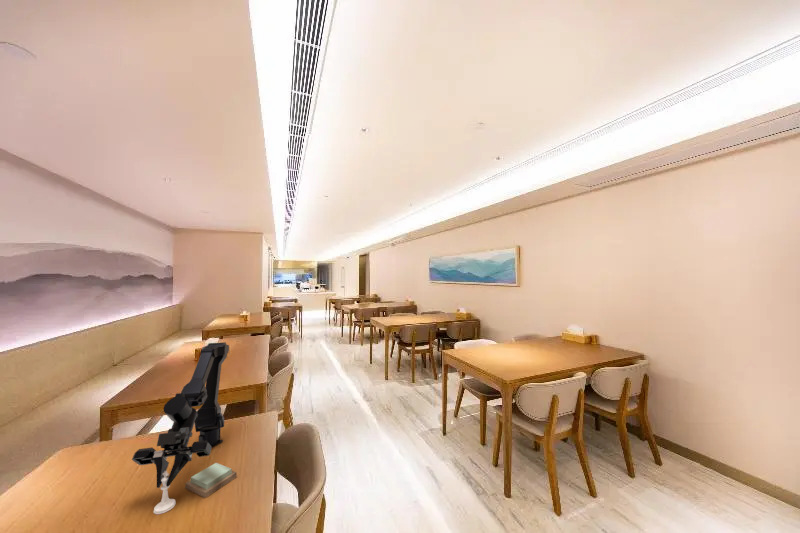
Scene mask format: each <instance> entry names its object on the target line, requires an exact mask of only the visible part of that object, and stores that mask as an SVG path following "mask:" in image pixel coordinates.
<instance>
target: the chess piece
mask: <svg viewBox="0 0 800 533" xmlns="http://www.w3.org/2000/svg"><path fill="white" fill-rule="evenodd" d="M163 475H164V477H163V478H162V479H161V482H162V484H161V486H160V490H161V491H162V495H161V501H160V502H158V503H157V504H156V505H155V506H154V507H153V514H155V515H162V514H165V513H167V512H168V511H170V510H171V509H173V508H174V507H175V506H176V499H175V498H169V492H168V489H169V488H170V487H171V484H170V485H169V486H168V487H167V486H166V484H167V480H168V477H169V475H170V472H168V470H166V471H165V472H164V473H163Z"/></svg>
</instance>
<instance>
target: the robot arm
mask: <svg viewBox="0 0 800 533" xmlns="http://www.w3.org/2000/svg"><path fill="white" fill-rule="evenodd" d="M229 352H230V346H229V344H227V343H226V342H225V341H224V342H211V343H210V342H209V343H208V344H207V345H205V346H203V347H202V348H201V349H200V353H199V358H198V362H197V363H196V365H195V369H194V371H193V374H192V377H191V379H190V381H188V382H187V383H186V384H185V385H184V386H183V387H182V390H181V391H180V392H178V393H176V394H175V396H174V397H172V398H170V399H169V400H168V401H167V402H166V403H165V404H164V405H163V412H164V414H165V415H166V416H167V418H169V419H170V421H171V422H172V426H171V428H169V429H168V430H167V432H164V433H159V434H158V438H157V442H156V447H160V448H161V449H163V450H156V449H155V448H154V447H153V446H152V447H146V448H139V449H137V450H136V451H135V453H134V454H133V456H132V459H131V460H132V461H133V462H135V464H137V465H139V466H145V465H152V464H154V465H155V468H156V469H155V470H156V489H157V488H158V489H161V487H162V485H163V484H162V482H161V479H162V478H163V477H164V475H163V473H164V472H165V471H168V467H169V464H170V463H169V461H168V460H167V459H168V457H174V459H173V460H174V461H173V465H172V468H171V470H170V472H169V475H168V476H169V477H168V480H167V484H166V486H167V487H168V486H169V485H170V486H171V484H172V483H173V481H174V480H175V479H176V477H177V476H178V474H179V473H180V472H181V470H182V469H183V468H184V467H185V466H186V465H187V464H188V463H189V462H192V460H193V458H192V456H193V454H196V455H197V456H198V457H199V458H201V457H202V458H203V457H209V456H210V455H211V452H212V448H213V447H215V446H218V445H220V444H221V443H222V442H224V440H223V439H221V429H222V428H224V427H225V417H224V415H223V413H222V407H221V406H220V403H219V402H218V399H219V392H220V391H219V388H220V380H221V374H222V373H221V372H222V365H223V363H224V361H226V359H227V358H228V354H229ZM194 407H200V408H198V409H195V408H194ZM194 427H195V433H198V432H199V435H198V441H194V442H193V443H192V444H191V446H190V445H189V446H188V444H189V441H190V438H192V437H193V428H194Z"/></svg>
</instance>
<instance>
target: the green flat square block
mask: <svg viewBox="0 0 800 533" xmlns="http://www.w3.org/2000/svg"><path fill="white" fill-rule="evenodd" d="M237 476H238V475H237V471H234V470H232V468H231V467H228V466H225V465H223V464H221V463H218V462H214V463H213V464H211V465H209V466H207V467H206V468H204V469H202V470H201V471H199V472H197V473H196V474H194V475H192V476H191V477H190V480H188V481H187V482H185V483H184V486H185V487H184V489H186V490H187V491H189V492H192V493H194V494H196V495H199V496H200V497H202V498H205V499H206V498H208V497H209V496H210V495H212V494H213V493H215V492H216V491H218V490H220V489H222V488H223V487H224V486H225V485H227V484H229V483H230V482H231V481H232V480H235V479H236V478H238V477H237Z"/></svg>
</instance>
